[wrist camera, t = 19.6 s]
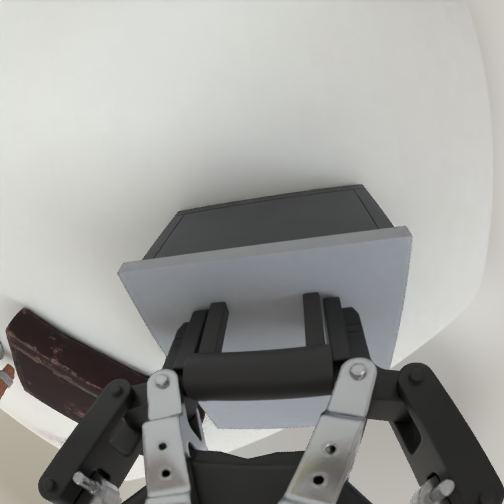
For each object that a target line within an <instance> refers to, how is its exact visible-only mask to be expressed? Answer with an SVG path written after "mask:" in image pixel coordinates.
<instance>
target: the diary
mask: <svg viewBox="0 0 504 504" xmlns="http://www.w3.org/2000/svg"><path fill="white" fill-rule="evenodd" d="M6 335H7V339H8V342H9V346H10V349H11V353H12V357H13V361H14V365H15V368H16V371H17V374H18V377H19V379H20V382H21V384H22V386H23V388H24V390H25V391H26V392H28V393H29V394H31V395H32V396H34V397H35V398H37V399H38V400H40V401H41V402H43V403H45V404H46V405H48V406H49V407H51V408H53V409H54V410H56V411H58V412H59V413H61V414H63V415H65V416H66V417H68V418H70V419H72V420H74V421H75V422H77V423H79V422H80V421H81V419H82V418H83V417H84V415H85V414H86V413H87V411H88V410H89V408H90V407H91V406H92V404H93V403H94V402H95V400H96V399H97V398H98V396H99V395H100V394H101V392H102V391H103V389H104V388H105V387H106V386H107V384H109V383H110V382H111V381H113V380H116V379H125V380H127V381H128V382H129V384H130V385H131V386H133V385H138V384H142V383H146V382H148V378H146V377H144V376H142V375H140V374H138V373H136V372H134V371H132V370H130V369H128V368H126V367H124V366H122V365H120V364H118V363H116V362H115V361H113V360H111V359H109V358H107V357H105V356H103V355H101V354H99V353H97V352H95V351H93V350H91V349H89V348H87V347H85V346H83V345H82V344H80V343H78V342H76V341H74V340H72V339H70V338H68V337H67V336H65V335H63V334H61V333H60V332H58V331H57V330H55V329H54V328H52V327H51V326H49V325H48V324H46V323H45V322H44V321H42V320H41V319H39V318H38V317H37V316H35V315H34V314H32V313H31V312H30V311H28V310H27V309H25V308H23V309H22V310H21V311H19V312H18V313H17V314H16V316H15V317H14V318H13V319H12V321H11V322H10V324H9V325H8V327H7V328H6ZM197 409H198V411H199V414H200V419H201V424H202V423H203V420H204V416H205V411H204V410H203V409H202V407H201V406H200V405H199V403H198V406H197ZM123 422H124V421H123V420H121V421H120V423H119V424H118V426H117V427H116V429H115V430H114V432H113V433H112V435H111V437H110V441H111V440H112V439H113V437H114V436H115V434H116V433H117V431H118V430H119V428H120V427H121V425H122V424H123ZM140 455H142V456H144V453H143V449H142V451H141V452H140Z"/></svg>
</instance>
